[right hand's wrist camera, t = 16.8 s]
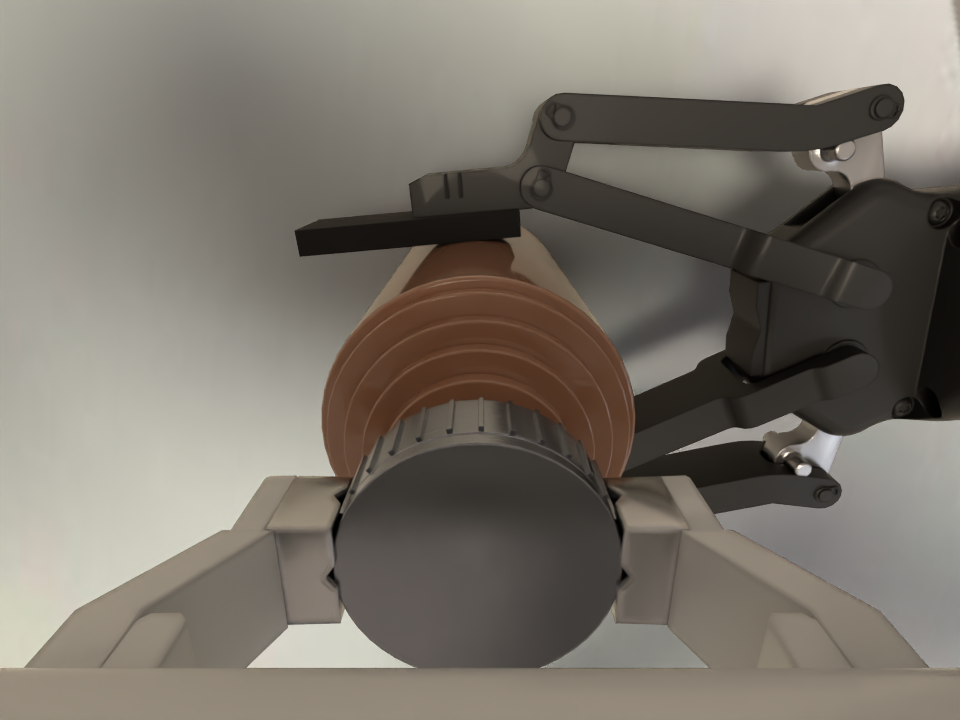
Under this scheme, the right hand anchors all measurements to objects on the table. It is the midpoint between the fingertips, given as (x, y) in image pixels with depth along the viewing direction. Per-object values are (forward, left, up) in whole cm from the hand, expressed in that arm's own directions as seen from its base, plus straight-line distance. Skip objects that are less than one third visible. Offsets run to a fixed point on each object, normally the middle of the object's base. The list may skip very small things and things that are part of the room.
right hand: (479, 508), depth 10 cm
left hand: (-4, -3, -9) cm, 11 cm away
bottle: (0, 0, -16) cm, 16 cm away
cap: (0, 0, +1) cm, 1 cm away
